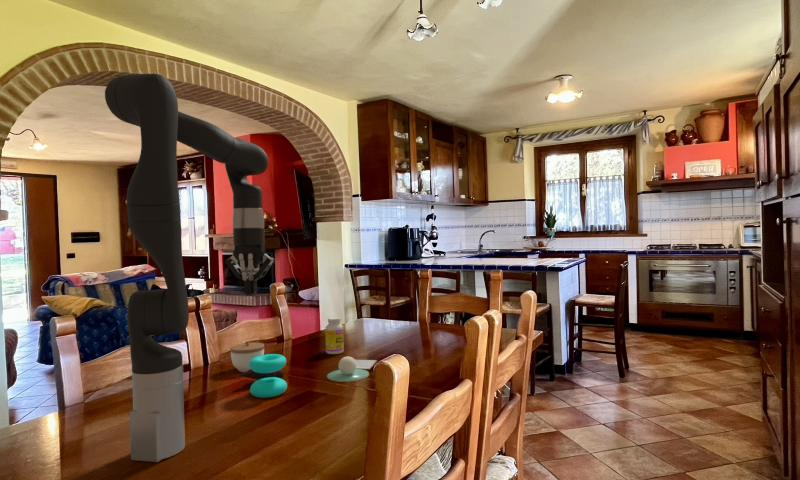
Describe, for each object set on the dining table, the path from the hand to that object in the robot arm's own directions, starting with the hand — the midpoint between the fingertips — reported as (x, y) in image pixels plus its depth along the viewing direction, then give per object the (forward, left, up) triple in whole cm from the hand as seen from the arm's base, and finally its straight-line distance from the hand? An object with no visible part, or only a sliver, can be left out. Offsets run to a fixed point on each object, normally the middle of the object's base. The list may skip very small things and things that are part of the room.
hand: (250, 295), depth 117 cm
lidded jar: (+33, +20, -29) cm, 48 cm away
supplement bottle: (+57, -2, -29) cm, 64 cm away
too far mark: (+42, -15, -29) cm, 53 cm away
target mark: (+30, -15, -29) cm, 45 cm away
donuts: (+12, +2, -29) cm, 32 cm away
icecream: (+21, +8, -29) cm, 37 cm away
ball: (+31, -15, -26) cm, 43 cm away
